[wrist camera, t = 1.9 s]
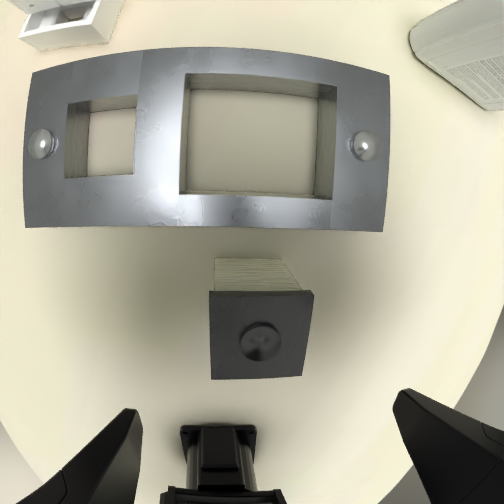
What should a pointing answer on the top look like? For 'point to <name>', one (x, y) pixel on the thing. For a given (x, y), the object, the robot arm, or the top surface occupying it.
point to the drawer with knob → (257, 320)
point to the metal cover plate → (176, 132)
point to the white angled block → (59, 29)
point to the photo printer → (466, 48)
